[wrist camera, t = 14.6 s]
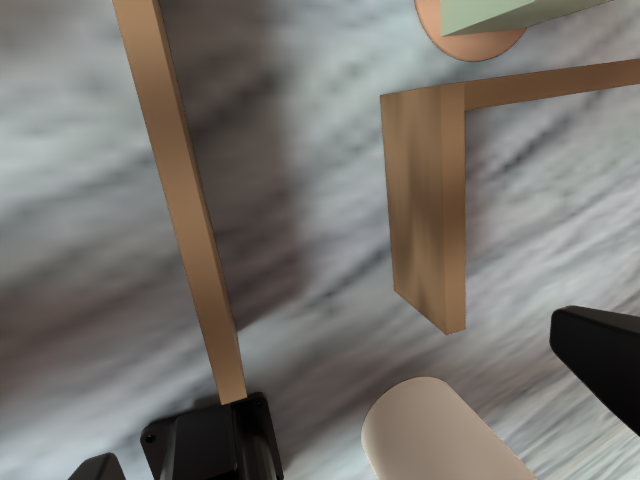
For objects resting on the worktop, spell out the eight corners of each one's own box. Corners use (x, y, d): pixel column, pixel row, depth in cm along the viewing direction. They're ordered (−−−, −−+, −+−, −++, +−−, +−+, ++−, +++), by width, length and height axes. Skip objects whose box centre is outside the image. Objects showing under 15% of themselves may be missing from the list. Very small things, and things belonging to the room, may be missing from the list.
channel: (543, 250, 24) (624, 279, 19) (217, 338, 19) (221, 405, 15) (571, -164, 17) (704, -269, 13) (81, -188, 12) (11, -371, 8)
